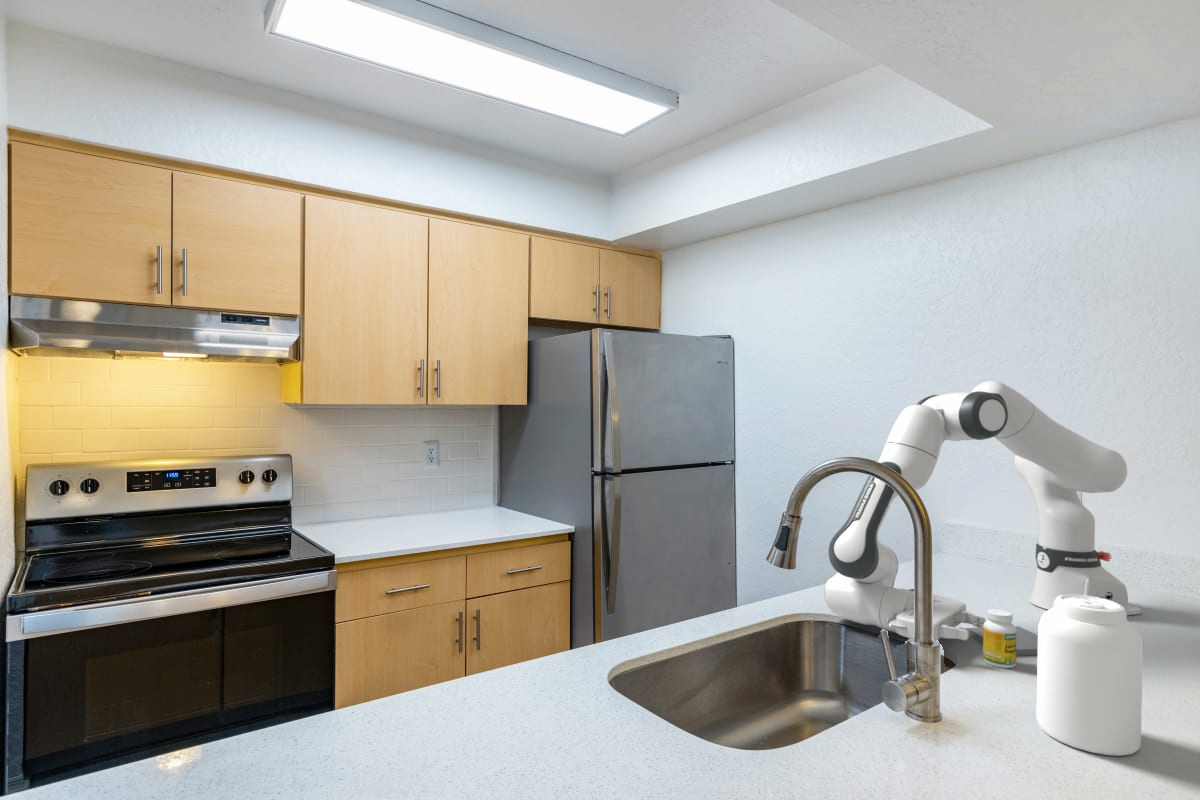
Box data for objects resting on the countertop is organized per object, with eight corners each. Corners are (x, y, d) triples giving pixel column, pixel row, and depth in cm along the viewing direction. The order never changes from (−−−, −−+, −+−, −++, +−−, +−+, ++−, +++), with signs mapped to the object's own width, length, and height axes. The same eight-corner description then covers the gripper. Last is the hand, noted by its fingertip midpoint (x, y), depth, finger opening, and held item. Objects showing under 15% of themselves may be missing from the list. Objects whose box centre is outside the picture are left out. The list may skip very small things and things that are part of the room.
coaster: (1018, 631, 143) (1018, 626, 143) (1064, 653, 131) (1064, 647, 131) (966, 633, 141) (966, 627, 141) (1007, 656, 129) (1007, 649, 129)
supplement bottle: (991, 655, 129) (992, 605, 129) (1021, 665, 125) (1022, 613, 125) (977, 661, 126) (977, 610, 126) (1007, 671, 122) (1008, 618, 122)
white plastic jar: (1147, 768, 91) (1150, 620, 90) (1036, 741, 97) (1039, 604, 97) (1134, 729, 101) (1137, 597, 101) (1035, 707, 108) (1037, 583, 108)
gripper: (881, 607, 131) (958, 625, 121) (921, 586, 145) (992, 601, 136) (881, 639, 131) (958, 660, 121) (920, 615, 145) (992, 632, 136)
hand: (976, 629), depth 129 cm, fingers open, 8 cm apart
